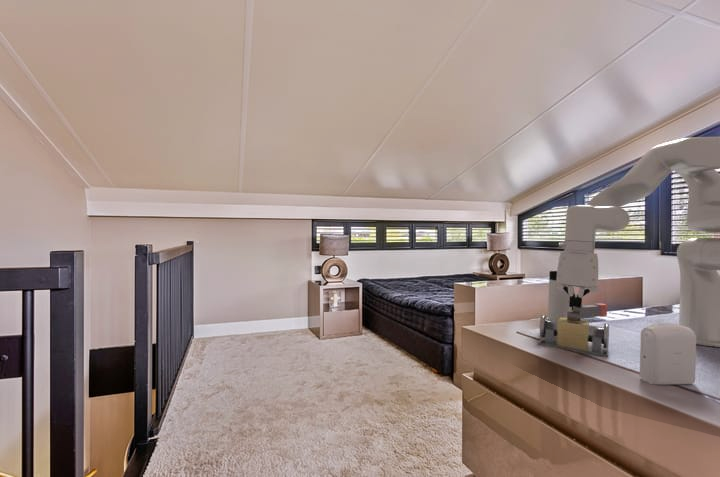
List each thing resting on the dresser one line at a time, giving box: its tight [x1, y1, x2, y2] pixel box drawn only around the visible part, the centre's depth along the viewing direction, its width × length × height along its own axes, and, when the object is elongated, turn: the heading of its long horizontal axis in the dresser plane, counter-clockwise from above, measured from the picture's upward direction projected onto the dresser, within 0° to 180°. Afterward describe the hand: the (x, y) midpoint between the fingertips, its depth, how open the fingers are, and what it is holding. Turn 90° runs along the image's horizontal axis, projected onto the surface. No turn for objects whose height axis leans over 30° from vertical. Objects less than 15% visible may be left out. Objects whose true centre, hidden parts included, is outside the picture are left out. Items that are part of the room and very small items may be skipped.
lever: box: [567, 303, 608, 321], centre depth 100 cm, size 16×3×4 cm, turn 116°
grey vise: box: [537, 314, 610, 358], centre depth 97 cm, size 16×10×7 cm, turn 55°
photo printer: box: [639, 322, 697, 385], centre depth 73 cm, size 10×4×12 cm, turn 96°
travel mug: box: [547, 270, 571, 321], centre depth 113 cm, size 6×7×20 cm
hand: (575, 310), depth 102 cm, fingers closed
